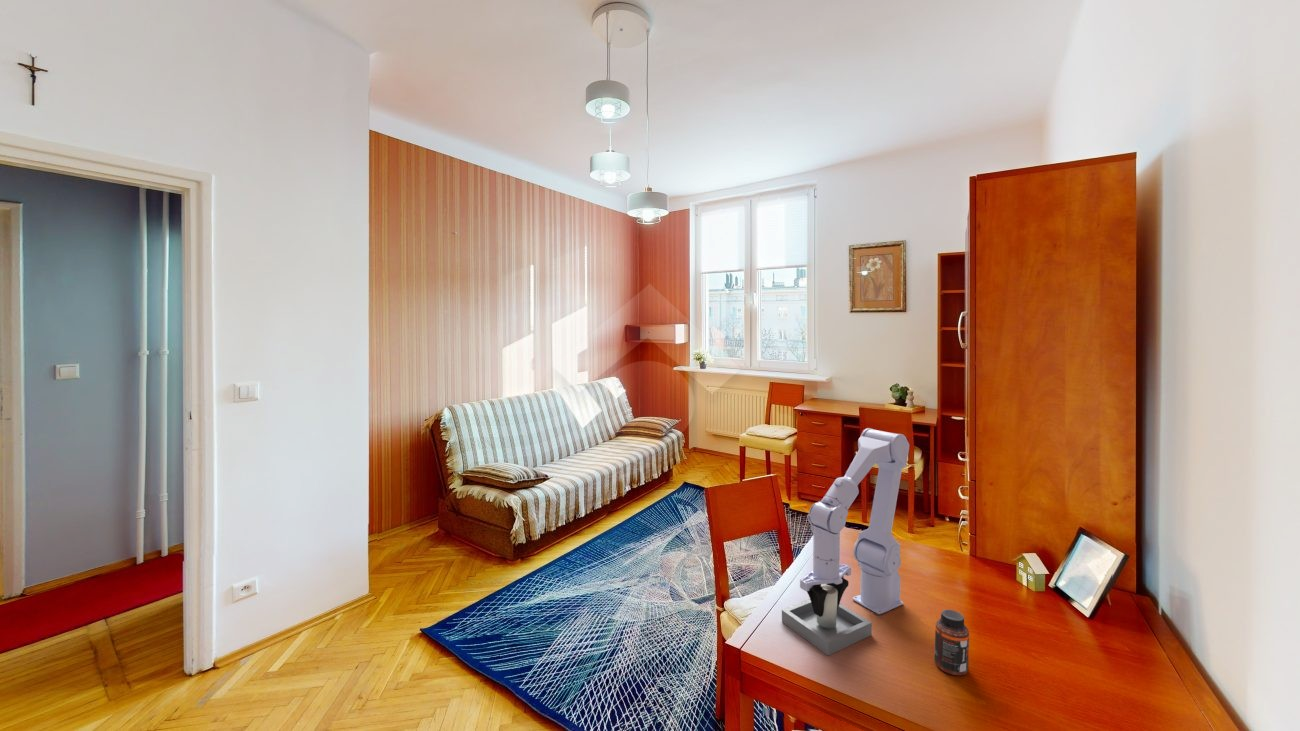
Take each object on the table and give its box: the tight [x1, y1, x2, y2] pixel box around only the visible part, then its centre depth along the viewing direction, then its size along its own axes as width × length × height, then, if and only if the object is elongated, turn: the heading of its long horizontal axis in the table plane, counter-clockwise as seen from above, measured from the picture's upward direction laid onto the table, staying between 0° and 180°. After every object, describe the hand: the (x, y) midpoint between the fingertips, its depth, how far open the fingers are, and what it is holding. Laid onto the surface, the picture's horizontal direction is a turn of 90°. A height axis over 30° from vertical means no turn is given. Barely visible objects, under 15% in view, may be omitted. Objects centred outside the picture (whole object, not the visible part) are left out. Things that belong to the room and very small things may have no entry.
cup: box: [816, 584, 838, 628], centre depth 115 cm, size 4×4×8 cm
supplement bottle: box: [934, 609, 970, 676], centre depth 101 cm, size 6×6×11 cm
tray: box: [781, 598, 873, 656], centre depth 115 cm, size 14×14×3 cm
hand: (825, 611), depth 115 cm, fingers closed on cup, 4 cm apart
